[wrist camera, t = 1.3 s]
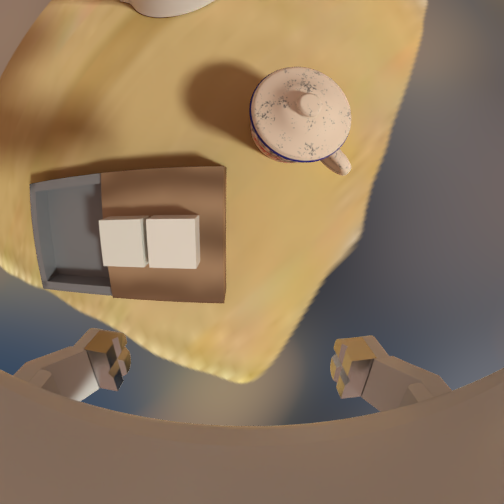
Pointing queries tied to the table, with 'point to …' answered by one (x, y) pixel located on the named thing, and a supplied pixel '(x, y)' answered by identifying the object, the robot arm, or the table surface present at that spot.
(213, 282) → the walnut board
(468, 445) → the robot arm
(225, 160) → the table surface
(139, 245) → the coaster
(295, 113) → the teacup with lid
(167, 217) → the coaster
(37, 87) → the table surface
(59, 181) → the tray
